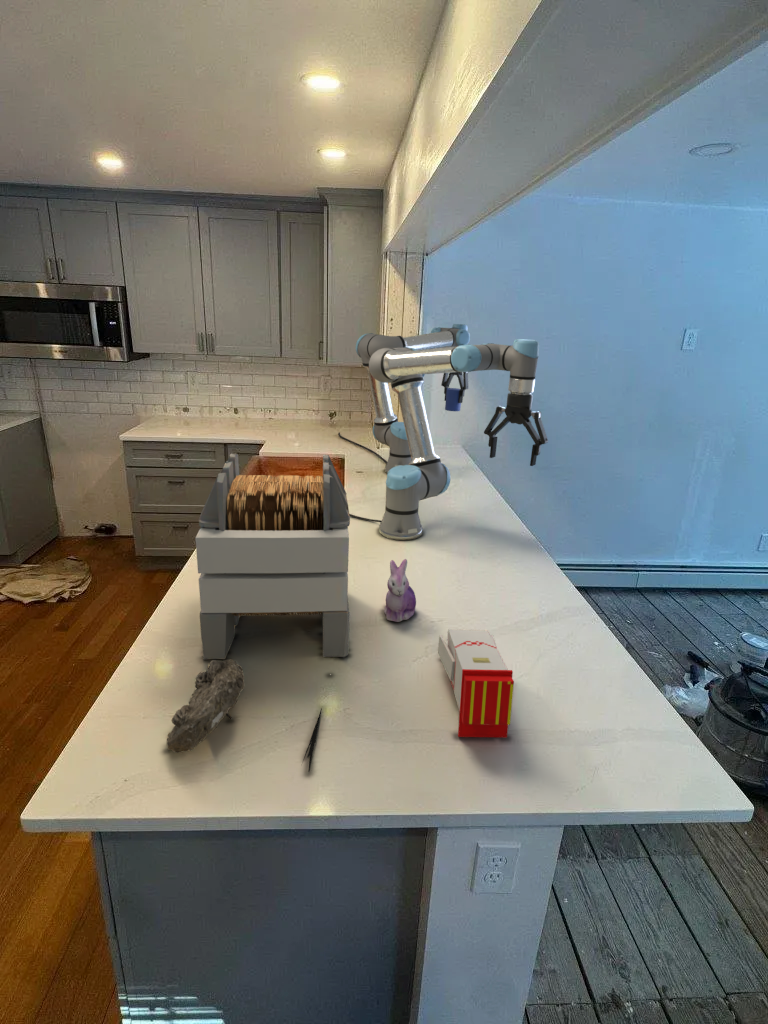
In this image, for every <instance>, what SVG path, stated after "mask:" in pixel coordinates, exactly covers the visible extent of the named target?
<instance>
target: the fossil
mask: <svg viewBox="0 0 768 1024" xmlns="http://www.w3.org/2000/svg"><path fill="white" fill-rule="evenodd" d="M243 670H244V669H243V667H242V665H240V664H237V662H236V661H235V660H234V659H232V658H231V659H227V658H226V659H223V661H222V660H218V659H211V661H210V663H209V665H208V666H207V671H201V672H199V673H198V674H197V675H196V676H195V680H194V684H195V685H194V687H195V689H194V690H193V693H192V694H191V697H190V698H189V700H188V704H184V705H182V706H181V707H180V709H177V710H176V711H175V713H174V715H173V716H172V718H171V723H172V724H173V727H172V730H171V731H170V732H168V734H167V738H166V741H167V742H166V745H167V749H168V750H169V751H173V752H174V753H176V754H178V753H182V752H188V751H189V752H192V751H193V750H195V748H196V747H197V746H199V744H200V743H201V742H203V741H204V740H205V739H206V738H207V737H208V736H209V735H210V734H211V733H212V732H214V730H215V729H217V727H218V726H219V724H220V722H221V721H222V720H223V719H224V718H225V716H226V717H227V719H229V720H233V717H232V715H230V714H229V710H230V709H231V708H234V706H235V704H236V703H237V702H238V699H239V697H240V695H241V693H242V691H243V690H245V689H244V688H245V675H244V671H243Z"/></svg>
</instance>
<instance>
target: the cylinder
mask: <svg viewBox="0 0 768 1024" xmlns="http://www.w3.org/2000/svg"><path fill="white" fill-rule="evenodd" d="M460 389H461V388H456V387H448V388H447V392H446V401H445V404H444V410H445V411H448V412H460V411H461V405H462V403H458V399H459V390H460Z"/></svg>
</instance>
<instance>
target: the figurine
mask: <svg viewBox="0 0 768 1024" xmlns="http://www.w3.org/2000/svg"><path fill="white" fill-rule="evenodd" d="M407 567H408V559H406V558H404V559H403V560H402V561H401V563H400V565H399V566H398V565H397V563H396V562H395V561H394V560H393V559H391V560H390V561H389V570H390V576H389V578H388V579H387V589H388V591H387V592H386V594H385V595H386V596H385V607H384V615H385V616H386V620H387V621H391V622H395V623H400V622H402V621H406V620H409V619H410V618H411V617H413V616H414V615H415V610H416V606H417V597H416V593H415V591H414V590H413V587H411V586H410V582H409V579H408V577H407V574H406V571H407Z"/></svg>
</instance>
